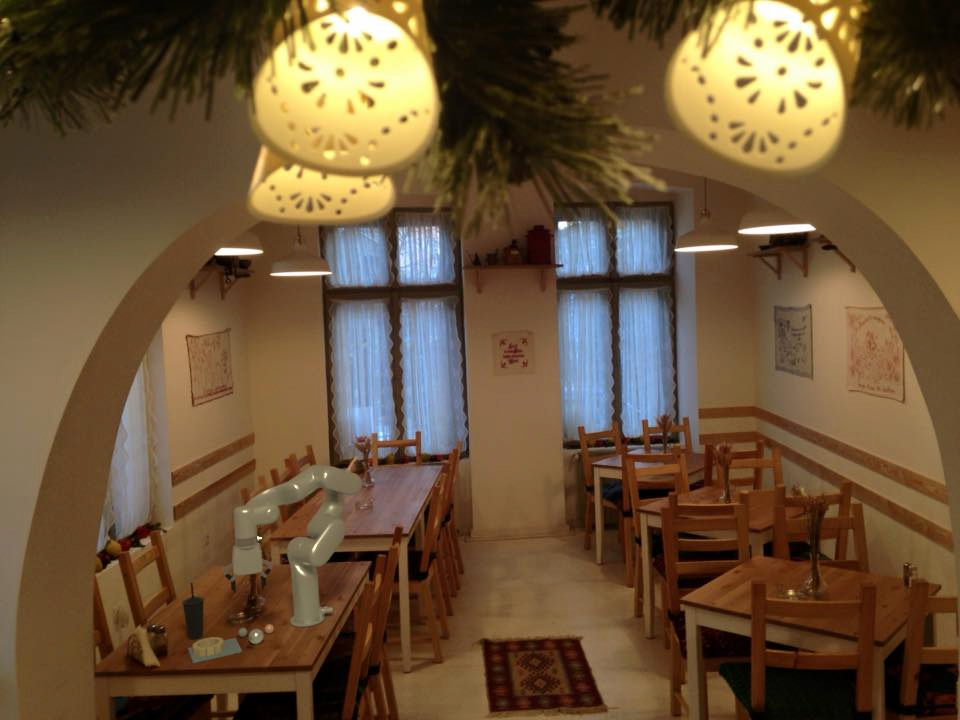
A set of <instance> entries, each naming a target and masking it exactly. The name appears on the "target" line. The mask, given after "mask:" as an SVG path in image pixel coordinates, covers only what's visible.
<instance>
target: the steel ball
mask: <svg viewBox="0 0 960 720" xmlns="http://www.w3.org/2000/svg"><path fill="white" fill-rule="evenodd" d="M248 640H249V642H250V643H252V644H253V645H258V644H260V643H261V642H262V641H263V640H264V632H263V631H262V630H261V629H259V628H255V629H252V630H251V631H250V632H249V635H248Z"/></svg>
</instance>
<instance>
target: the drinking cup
mask: <svg viewBox="0 0 960 720" xmlns="http://www.w3.org/2000/svg"><path fill="white" fill-rule="evenodd" d="M190 592H191V593H190V594H191V596H189V597H187V598H185V599H183V600H182V601H181V604H182V607H183V612H184V619H185V623H186V629H187V630H186V631H187V635H188V640H191V641H192V640H194V641H195V640H200V639H202V637H204V601H205V598H204V597H203V596H199V595H194V583H193V582H190Z"/></svg>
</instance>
